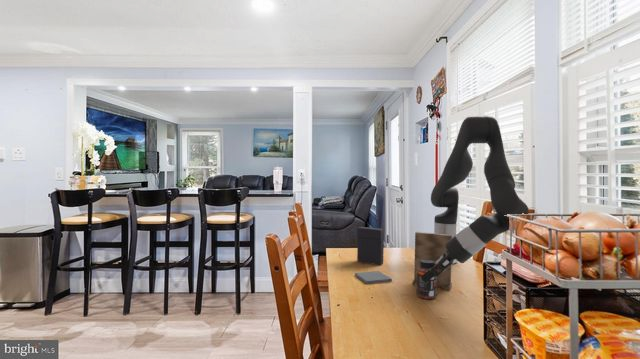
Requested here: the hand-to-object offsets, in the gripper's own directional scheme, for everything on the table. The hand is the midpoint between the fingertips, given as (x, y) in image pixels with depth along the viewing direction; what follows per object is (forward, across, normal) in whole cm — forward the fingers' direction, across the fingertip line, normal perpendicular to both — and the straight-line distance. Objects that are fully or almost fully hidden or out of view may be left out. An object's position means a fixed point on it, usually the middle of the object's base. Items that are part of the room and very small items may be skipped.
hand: (425, 276), depth 107 cm
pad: (+19, -9, -10) cm, 23 cm away
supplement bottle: (+4, 0, +5) cm, 7 cm away
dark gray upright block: (+24, -30, -15) cm, 41 cm away
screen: (+4, -12, +5) cm, 14 cm away
